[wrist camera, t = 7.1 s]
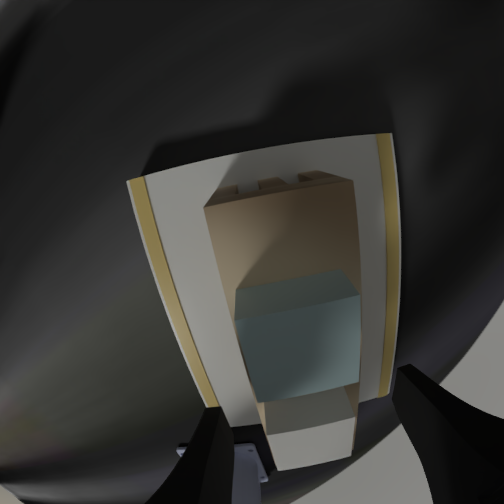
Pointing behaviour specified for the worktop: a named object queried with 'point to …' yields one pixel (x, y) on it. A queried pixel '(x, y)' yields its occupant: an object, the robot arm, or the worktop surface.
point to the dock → (207, 274)
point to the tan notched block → (285, 240)
